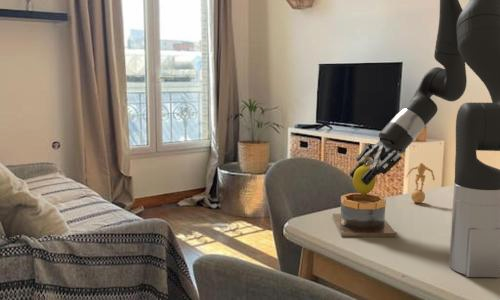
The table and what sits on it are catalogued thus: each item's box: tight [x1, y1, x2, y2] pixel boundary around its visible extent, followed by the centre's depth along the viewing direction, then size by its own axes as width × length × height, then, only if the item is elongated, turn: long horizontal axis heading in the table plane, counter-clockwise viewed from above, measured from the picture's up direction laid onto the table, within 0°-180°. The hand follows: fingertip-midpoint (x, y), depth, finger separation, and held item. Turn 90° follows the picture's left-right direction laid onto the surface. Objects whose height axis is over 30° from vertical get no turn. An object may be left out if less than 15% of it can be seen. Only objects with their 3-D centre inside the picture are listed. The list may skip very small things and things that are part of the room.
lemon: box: [352, 165, 376, 196], centre depth 125 cm, size 6×6×8 cm
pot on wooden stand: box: [331, 192, 397, 238], centre depth 126 cm, size 16×13×8 cm
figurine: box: [405, 162, 436, 204], centre depth 149 cm, size 8×6×12 cm
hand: (357, 179), depth 124 cm, fingers closed on lemon, 5 cm apart
